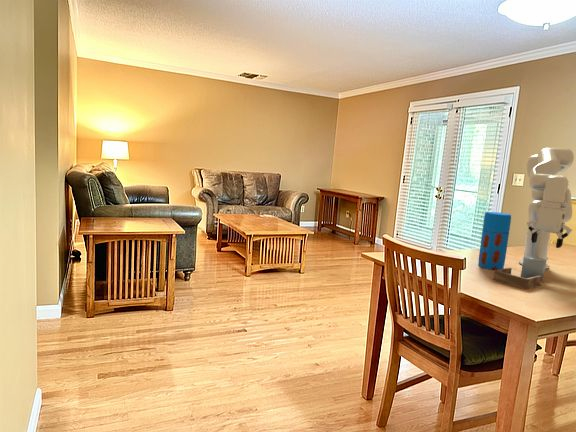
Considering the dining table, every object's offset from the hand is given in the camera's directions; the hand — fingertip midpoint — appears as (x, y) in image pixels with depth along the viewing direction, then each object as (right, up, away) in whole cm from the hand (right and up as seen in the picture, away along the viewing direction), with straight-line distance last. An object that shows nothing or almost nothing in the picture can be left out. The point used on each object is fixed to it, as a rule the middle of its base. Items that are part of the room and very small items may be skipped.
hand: (545, 244), depth 176 cm
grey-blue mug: (-6, -14, -2) cm, 16 cm away
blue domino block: (-17, -11, +13) cm, 24 cm away
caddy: (-18, -14, -11) cm, 26 cm away
